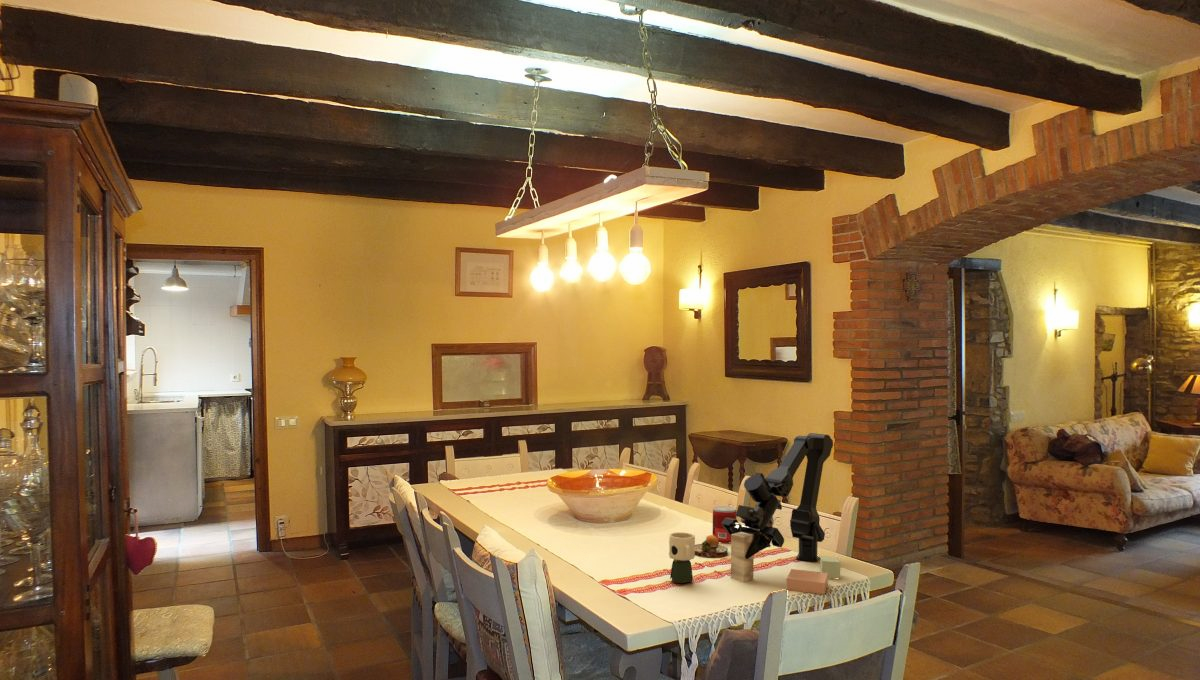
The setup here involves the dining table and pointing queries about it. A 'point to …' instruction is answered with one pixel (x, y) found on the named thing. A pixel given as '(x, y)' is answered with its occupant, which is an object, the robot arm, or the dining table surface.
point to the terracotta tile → (807, 581)
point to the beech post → (741, 557)
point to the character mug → (681, 556)
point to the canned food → (718, 518)
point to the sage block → (830, 566)
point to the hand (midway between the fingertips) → (739, 556)
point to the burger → (711, 548)
